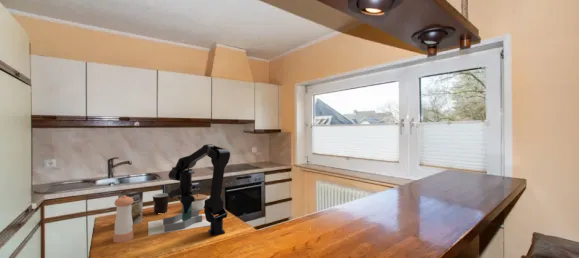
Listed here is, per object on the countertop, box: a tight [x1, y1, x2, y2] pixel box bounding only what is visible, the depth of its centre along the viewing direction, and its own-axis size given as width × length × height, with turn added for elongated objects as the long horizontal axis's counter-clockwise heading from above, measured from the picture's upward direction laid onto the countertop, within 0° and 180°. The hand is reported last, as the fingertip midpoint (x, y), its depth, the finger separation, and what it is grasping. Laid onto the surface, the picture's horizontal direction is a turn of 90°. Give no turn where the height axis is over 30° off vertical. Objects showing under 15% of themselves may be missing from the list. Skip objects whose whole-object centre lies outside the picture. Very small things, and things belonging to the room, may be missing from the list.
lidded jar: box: [192, 193, 208, 212], centre depth 151 cm, size 11×11×9 cm
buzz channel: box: [147, 210, 210, 236], centre depth 128 cm, size 19×32×4 cm, turn 120°
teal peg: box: [181, 203, 193, 222], centre depth 129 cm, size 4×4×10 cm
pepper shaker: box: [112, 195, 134, 244], centre depth 108 cm, size 7×7×19 cm
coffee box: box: [117, 190, 144, 226], centre depth 126 cm, size 9×6×16 cm
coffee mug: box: [152, 193, 170, 215], centre depth 143 cm, size 12×9×10 cm
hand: (185, 212), depth 129 cm, fingers closed on teal peg, 4 cm apart
